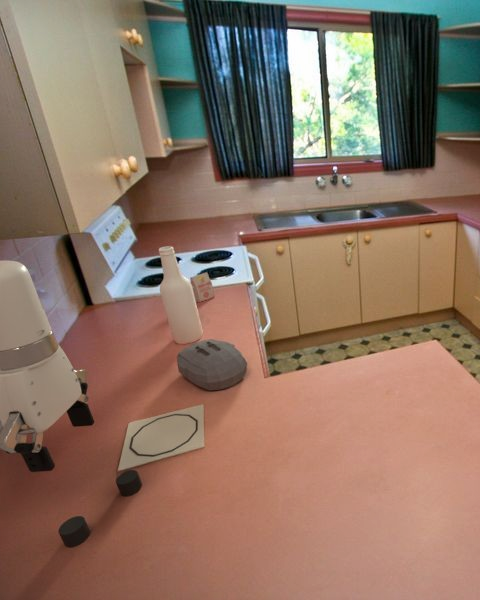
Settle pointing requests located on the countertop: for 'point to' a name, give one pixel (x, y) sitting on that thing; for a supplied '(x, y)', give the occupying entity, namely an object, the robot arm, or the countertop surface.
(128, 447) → the sheet
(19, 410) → the robot arm
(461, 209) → the countertop surface
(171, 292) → the alcohol
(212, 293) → the small printed carton
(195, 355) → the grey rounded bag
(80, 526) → the cylinder
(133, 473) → the cylinder
